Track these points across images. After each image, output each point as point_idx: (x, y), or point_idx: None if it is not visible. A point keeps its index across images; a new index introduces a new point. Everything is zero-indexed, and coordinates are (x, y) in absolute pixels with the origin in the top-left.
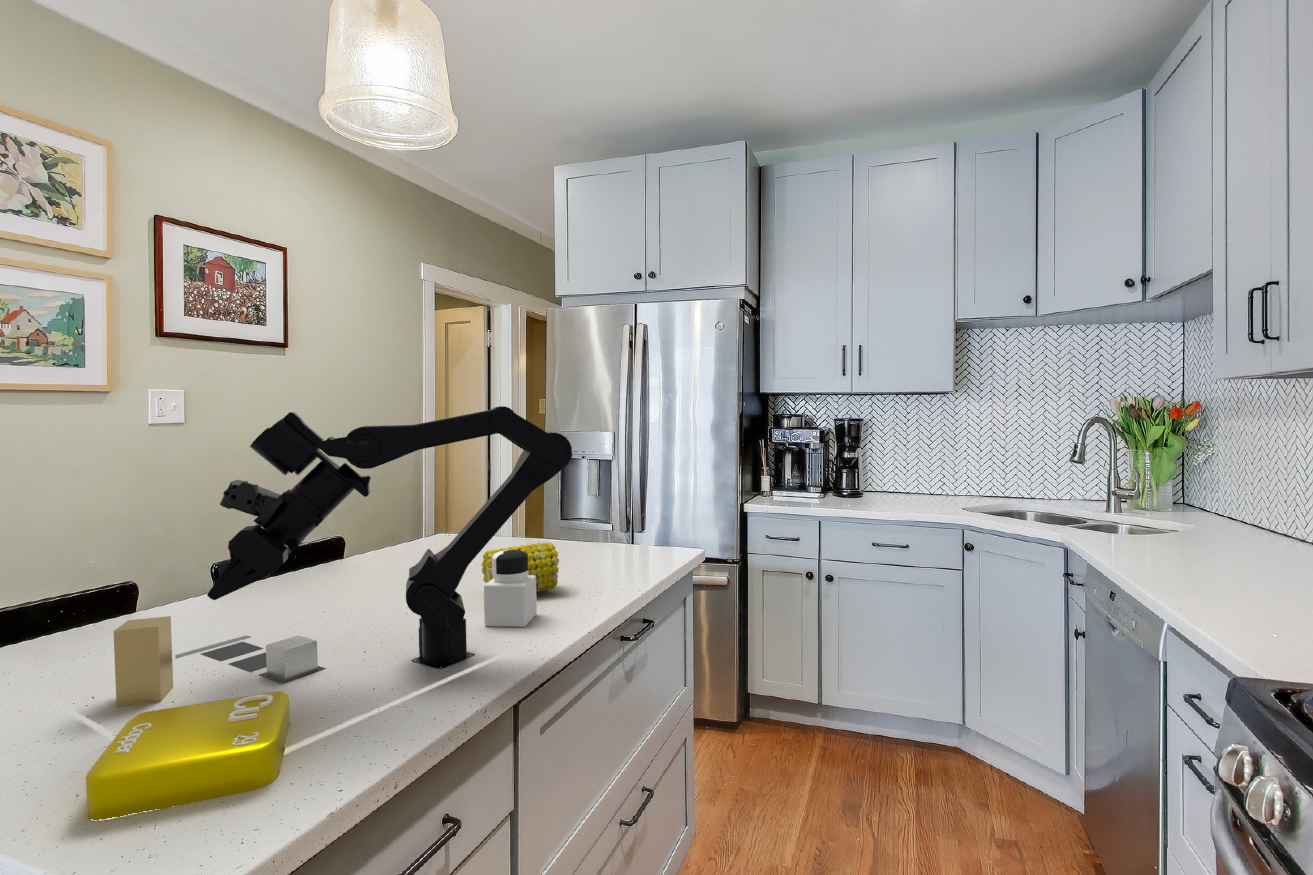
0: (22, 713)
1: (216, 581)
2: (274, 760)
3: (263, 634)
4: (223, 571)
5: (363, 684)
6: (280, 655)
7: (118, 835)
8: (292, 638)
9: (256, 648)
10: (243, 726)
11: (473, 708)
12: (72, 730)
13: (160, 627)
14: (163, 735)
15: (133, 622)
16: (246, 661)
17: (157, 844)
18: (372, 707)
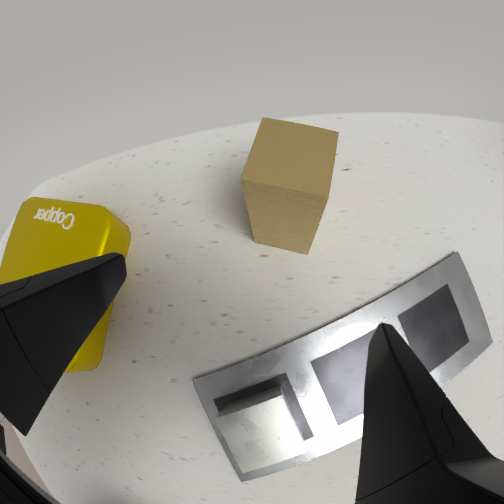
0: (329, 120)
1: (64, 266)
2: None
3: (493, 365)
4: (21, 279)
5: (161, 477)
6: (231, 411)
7: None
8: (291, 441)
9: (428, 366)
10: None
11: (52, 493)
12: (237, 162)
13: (255, 185)
14: (42, 242)
15: (313, 139)
16: None
17: (3, 253)
18: (87, 450)
